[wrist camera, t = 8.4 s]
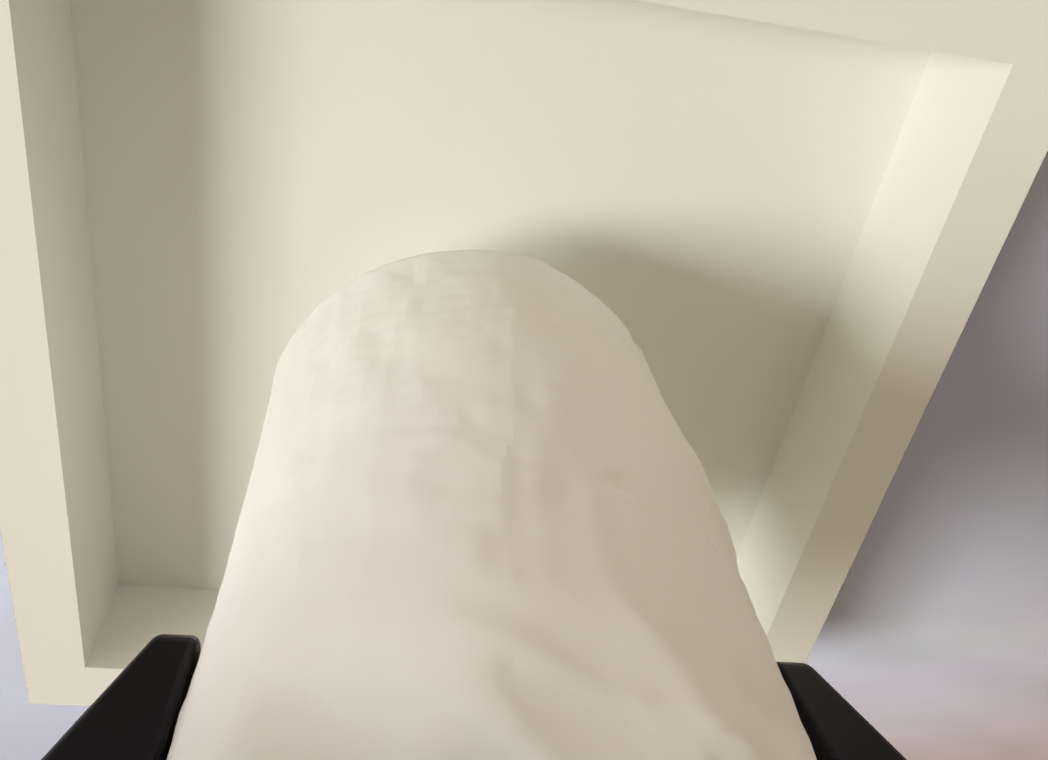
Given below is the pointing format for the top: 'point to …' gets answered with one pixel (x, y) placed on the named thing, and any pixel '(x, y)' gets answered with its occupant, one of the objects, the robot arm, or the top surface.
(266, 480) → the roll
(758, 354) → the tray
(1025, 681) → the top surface
